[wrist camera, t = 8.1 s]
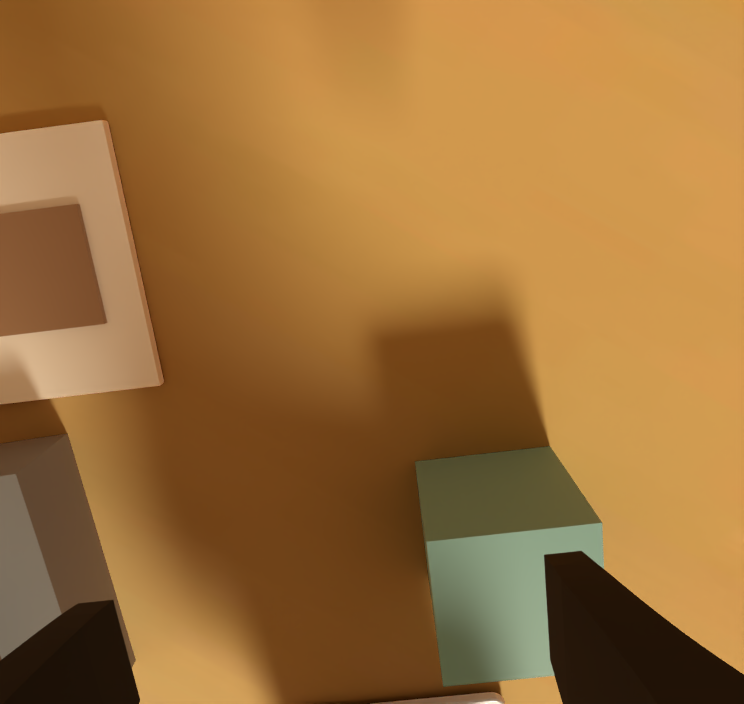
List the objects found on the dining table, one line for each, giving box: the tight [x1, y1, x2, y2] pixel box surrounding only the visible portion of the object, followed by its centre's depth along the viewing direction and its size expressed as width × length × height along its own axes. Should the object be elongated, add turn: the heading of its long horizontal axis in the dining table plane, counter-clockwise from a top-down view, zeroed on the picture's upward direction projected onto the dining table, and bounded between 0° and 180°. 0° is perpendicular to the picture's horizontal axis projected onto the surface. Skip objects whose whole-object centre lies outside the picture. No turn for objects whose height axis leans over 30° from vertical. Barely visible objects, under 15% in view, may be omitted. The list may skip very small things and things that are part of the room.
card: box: [0, 120, 164, 404], centre depth 19 cm, size 8×6×1 cm
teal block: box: [415, 446, 604, 687], centre depth 19 cm, size 4×4×5 cm
